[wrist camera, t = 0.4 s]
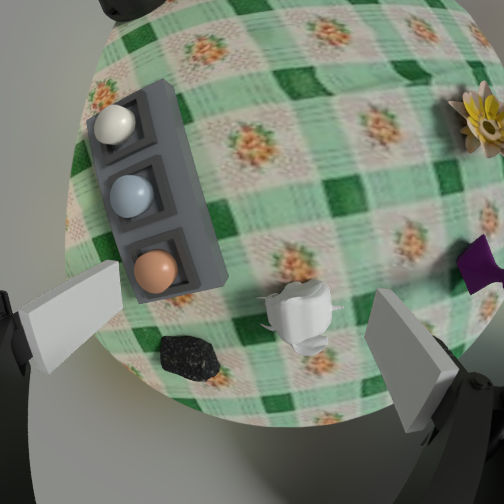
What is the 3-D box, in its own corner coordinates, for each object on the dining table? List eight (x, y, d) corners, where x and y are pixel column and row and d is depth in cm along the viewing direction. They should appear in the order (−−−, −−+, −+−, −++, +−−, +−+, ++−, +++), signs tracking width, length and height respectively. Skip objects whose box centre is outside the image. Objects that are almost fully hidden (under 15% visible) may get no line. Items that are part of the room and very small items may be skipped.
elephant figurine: (253, 274, 40) (245, 299, 31) (334, 262, 38) (349, 285, 29) (263, 330, 42) (258, 364, 33) (338, 320, 40) (350, 352, 32)
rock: (158, 332, 44) (145, 350, 39) (213, 331, 43) (204, 351, 37) (169, 364, 46) (158, 383, 40) (221, 365, 45) (214, 386, 39)
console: (100, 124, 36) (80, 119, 30) (173, 86, 33) (158, 75, 28) (150, 294, 42) (134, 308, 37) (228, 276, 40) (221, 290, 35)
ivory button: (102, 118, 30) (91, 116, 27) (131, 102, 29) (122, 97, 27) (108, 151, 31) (97, 150, 29) (139, 135, 30) (129, 132, 28)
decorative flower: (488, 77, 24) (525, 79, 16) (504, 134, 29) (539, 145, 20) (437, 92, 28) (476, 93, 20) (457, 156, 33) (494, 171, 24)
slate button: (116, 183, 32) (105, 184, 30) (147, 169, 31) (138, 168, 29) (126, 220, 33) (116, 223, 31) (158, 208, 32) (149, 210, 30)
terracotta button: (137, 254, 34) (128, 259, 32) (170, 244, 33) (162, 249, 31) (150, 289, 35) (142, 296, 33) (183, 282, 34) (176, 289, 32)
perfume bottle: (446, 258, 36) (516, 300, 18) (472, 229, 34) (546, 258, 16) (461, 288, 37) (522, 336, 19) (485, 261, 35) (550, 297, 17)
